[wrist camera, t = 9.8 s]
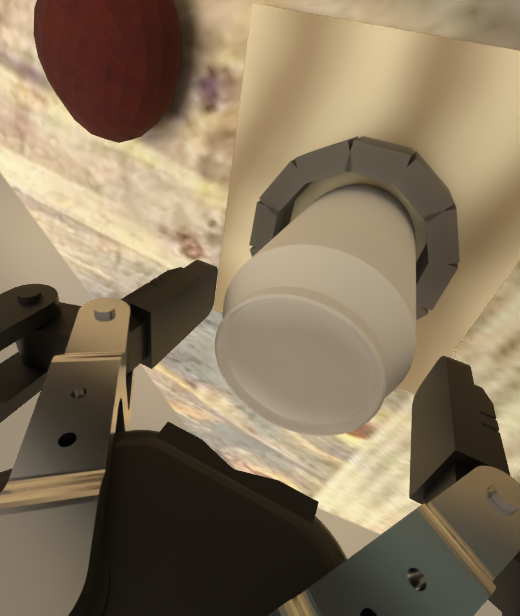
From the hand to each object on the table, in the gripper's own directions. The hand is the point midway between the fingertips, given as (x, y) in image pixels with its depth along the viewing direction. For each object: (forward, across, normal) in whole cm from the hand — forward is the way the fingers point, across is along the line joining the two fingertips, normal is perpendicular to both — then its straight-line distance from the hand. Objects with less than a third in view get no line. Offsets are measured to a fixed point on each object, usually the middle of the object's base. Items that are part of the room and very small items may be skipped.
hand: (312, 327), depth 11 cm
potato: (+10, +15, -6) cm, 20 cm away
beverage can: (+9, 0, 0) cm, 9 cm away
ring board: (+10, 0, 0) cm, 10 cm away
